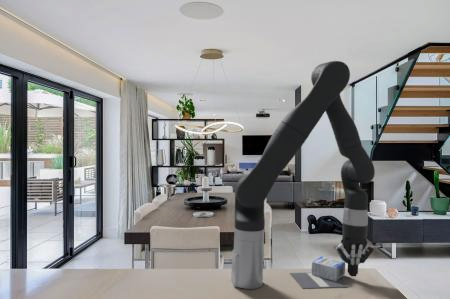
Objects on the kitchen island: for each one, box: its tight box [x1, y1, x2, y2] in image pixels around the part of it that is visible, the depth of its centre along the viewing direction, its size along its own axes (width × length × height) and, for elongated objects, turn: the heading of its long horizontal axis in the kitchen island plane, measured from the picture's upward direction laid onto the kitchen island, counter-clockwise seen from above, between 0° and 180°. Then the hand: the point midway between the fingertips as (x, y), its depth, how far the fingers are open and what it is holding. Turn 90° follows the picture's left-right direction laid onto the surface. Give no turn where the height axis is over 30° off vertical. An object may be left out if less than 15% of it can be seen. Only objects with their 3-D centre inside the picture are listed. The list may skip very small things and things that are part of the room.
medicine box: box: [311, 256, 346, 281], centre depth 117 cm, size 8×4×9 cm
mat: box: [289, 272, 349, 290], centre depth 113 cm, size 14×12×1 cm
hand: (352, 275), depth 113 cm, fingers closed
